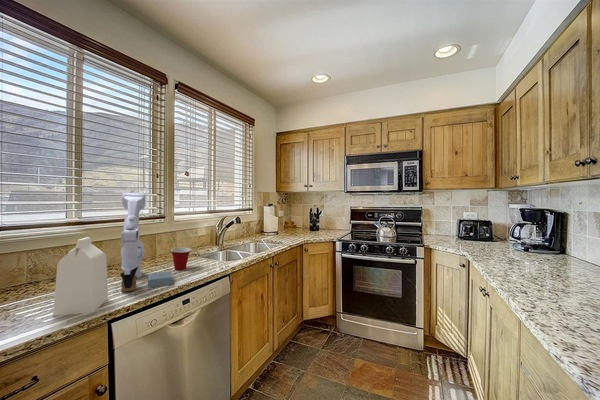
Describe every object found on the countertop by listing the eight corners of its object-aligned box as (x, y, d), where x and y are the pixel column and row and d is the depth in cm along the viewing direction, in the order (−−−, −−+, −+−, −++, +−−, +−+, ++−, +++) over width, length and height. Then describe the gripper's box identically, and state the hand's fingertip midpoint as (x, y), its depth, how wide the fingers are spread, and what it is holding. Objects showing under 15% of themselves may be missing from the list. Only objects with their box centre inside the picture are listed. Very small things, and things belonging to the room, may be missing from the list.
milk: (92, 312, 89) (94, 241, 89) (53, 315, 86) (54, 241, 86) (107, 299, 100) (109, 235, 100) (73, 301, 97) (75, 236, 97)
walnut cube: (123, 288, 112) (123, 277, 112) (136, 286, 114) (136, 275, 114) (121, 291, 107) (121, 280, 107) (135, 290, 110) (135, 279, 110)
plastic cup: (182, 272, 137) (182, 251, 137) (165, 270, 140) (166, 249, 140) (194, 267, 148) (195, 247, 148) (179, 265, 150) (179, 246, 150)
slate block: (148, 281, 122) (148, 274, 122) (170, 279, 128) (170, 271, 128) (147, 288, 114) (148, 280, 114) (172, 285, 119) (172, 277, 119)
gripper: (138, 258, 106) (137, 290, 106) (141, 251, 119) (141, 279, 119) (118, 260, 103) (117, 292, 103) (124, 253, 116) (123, 281, 116)
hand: (129, 285), depth 111 cm, fingers closed on walnut cube, 5 cm apart
